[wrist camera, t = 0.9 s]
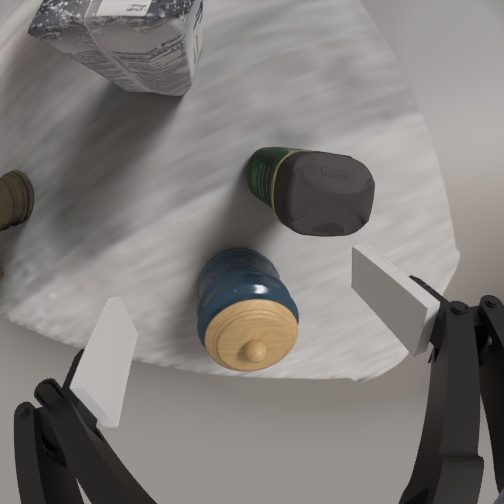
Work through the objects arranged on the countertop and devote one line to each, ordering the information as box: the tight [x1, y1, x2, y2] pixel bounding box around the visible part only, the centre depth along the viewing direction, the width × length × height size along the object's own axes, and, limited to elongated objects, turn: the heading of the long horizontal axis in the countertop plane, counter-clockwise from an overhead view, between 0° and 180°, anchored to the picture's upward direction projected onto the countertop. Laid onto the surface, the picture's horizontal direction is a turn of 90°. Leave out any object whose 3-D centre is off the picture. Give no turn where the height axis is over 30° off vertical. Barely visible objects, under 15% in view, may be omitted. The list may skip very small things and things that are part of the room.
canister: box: [197, 248, 299, 371], centre depth 36 cm, size 13×13×18 cm
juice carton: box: [28, 0, 203, 96], centre depth 18 cm, size 9×10×27 cm
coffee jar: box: [248, 147, 375, 237], centre depth 30 cm, size 10×8×19 cm
